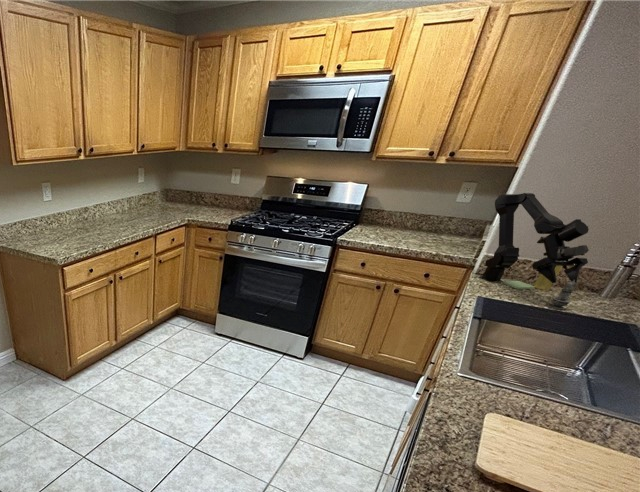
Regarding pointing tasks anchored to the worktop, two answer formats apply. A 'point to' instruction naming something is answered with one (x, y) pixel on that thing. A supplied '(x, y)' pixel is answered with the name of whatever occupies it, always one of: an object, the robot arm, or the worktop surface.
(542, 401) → the worktop surface
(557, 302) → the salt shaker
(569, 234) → the robot arm
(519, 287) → the mat
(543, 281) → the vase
